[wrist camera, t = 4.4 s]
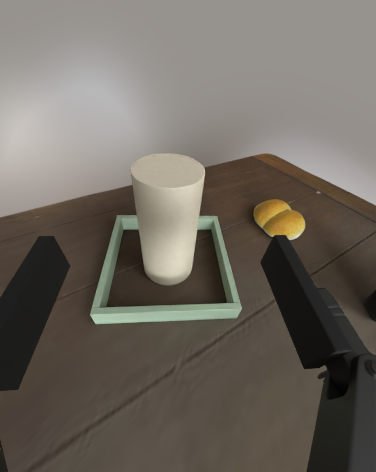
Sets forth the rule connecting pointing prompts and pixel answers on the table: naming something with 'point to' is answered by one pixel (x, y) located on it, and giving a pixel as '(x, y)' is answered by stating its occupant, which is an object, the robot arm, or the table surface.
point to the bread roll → (279, 219)
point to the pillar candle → (167, 213)
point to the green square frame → (163, 312)
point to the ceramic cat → (371, 304)
